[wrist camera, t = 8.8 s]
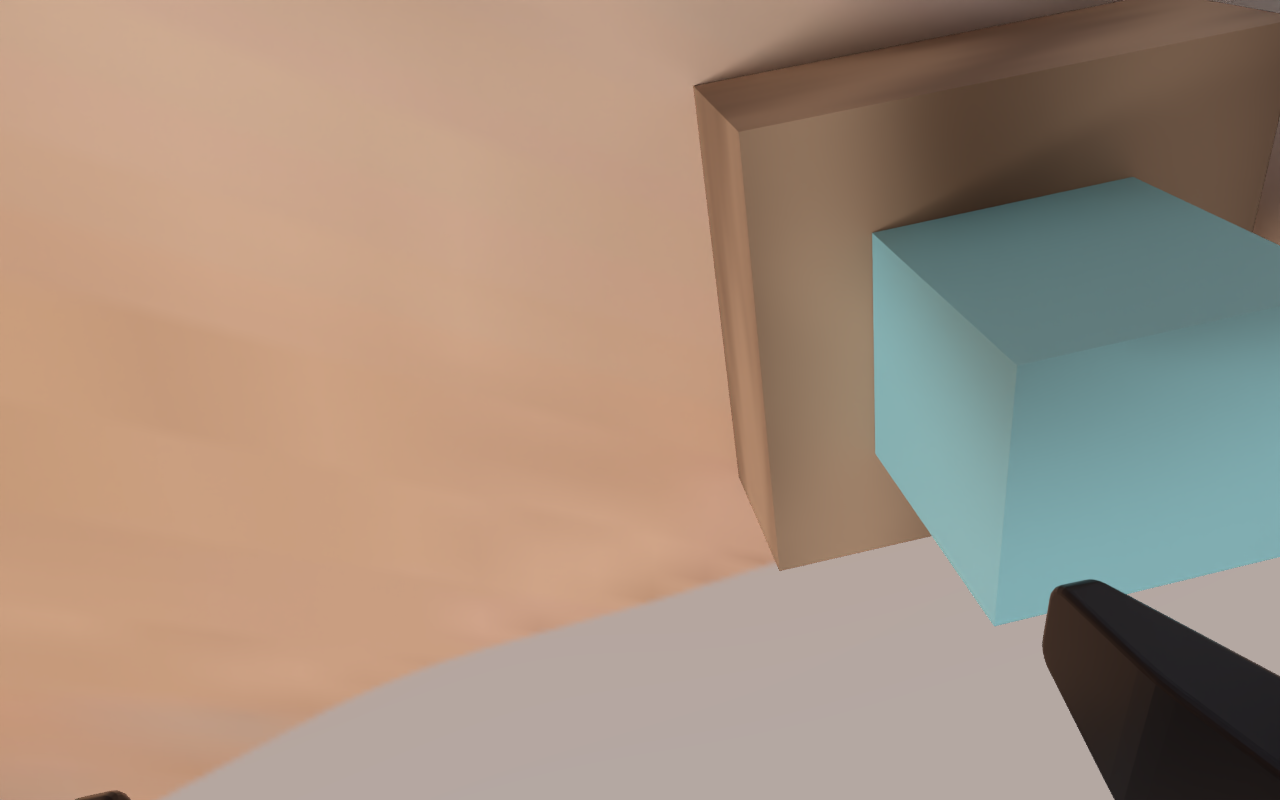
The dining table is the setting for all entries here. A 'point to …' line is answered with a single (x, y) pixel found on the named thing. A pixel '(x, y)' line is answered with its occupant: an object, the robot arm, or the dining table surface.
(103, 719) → the dining table surface
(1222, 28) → the walnut block
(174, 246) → the dining table surface
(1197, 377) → the teal cube
